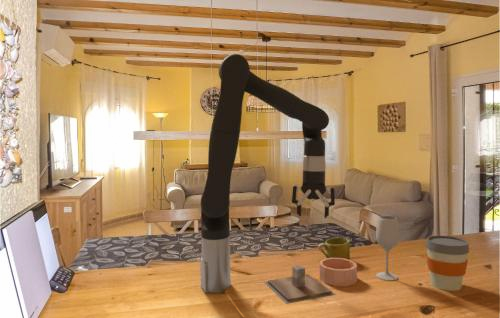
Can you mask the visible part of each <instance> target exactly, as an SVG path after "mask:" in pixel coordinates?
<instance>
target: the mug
mask: <svg viewBox="0 0 500 318" xmlns="http://www.w3.org/2000/svg"><path fill="white" fill-rule="evenodd" d="M350 246H351V244H350V240H349V238H345V237H341V236H340V237H331V238H327V239H326V240H325V243H324V242H321V243H319V244H318V247H317V248H318V250H319V251H320V252H321V253H322V254H323V256H324V257H325V259H326V258H344V259H348V260H351V254H350V253H351V252H350V251H351V247H350ZM323 248H324V249H325V250H324V249H323ZM325 251H326V252H325Z"/></svg>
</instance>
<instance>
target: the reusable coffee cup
mask: <svg viewBox="0 0 500 318" xmlns="http://www.w3.org/2000/svg"><path fill="white" fill-rule="evenodd" d="M425 247H426V251H427V254H426V263H427V269H428V270H429V276H430V284H431V286H433V287H435V288H436V289H439V290H442V291H448V292H450V291H451V292H454V291H455V292H456V291H460V290H461V289H462V285H463V281H464V280H463V279H464V276H465V275H466V272H467V265H468V261H469V260H468V258H467V257H468V254H469V253H470V248H469V241H468V240H466V239H463V238H462V237H461V238H460V237H456V236H450V235H441V234H440V235H429V236H428V237H427V238H426V243H425Z"/></svg>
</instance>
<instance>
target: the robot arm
mask: <svg viewBox="0 0 500 318" xmlns="http://www.w3.org/2000/svg"><path fill="white" fill-rule="evenodd" d="M218 77H219V80H220V90H219V91H220V92H219V97H218V102H217V106H216V109H215V112H214V115H213V119H212V124H211V129H210V135H209V141H208V154H207V155H208V156H207V157H208V159H207V166H208V167H207V168H208V169H207V174H206V175H207V177H206V181H205V184H204V185H205V186H204V190H203V193H202V194H201V198H200V211H201V212H200V215H201V220H200V221H201V226H200V227H201V228H200V231H201V233H200V234H201V236H200V237H201V257H200V259H199V260H200V262H199V263H200V287H201V289H202V291H203V292H204V294H205V293H211V294H212V293H214V294H218V293H224V292H226V290H228V289H230V287H231V235H230V233H231V226H230V203H231V202H230V200H231V199H230V197H231V196H230V193H231V179H232V173H233V168H234V165H235V161H236V158H237V153H238V148H239V142H240V133H241V124H242V116H243V115H242V114H243V103H244V102H243V101H244V95H245V93H247V94H249V95H251V96H254V97H255V98H256V99H259V100H260V101H263V103H265V104H267V105H269V106H270V107H272V108H274V109H275V110H276V111H278V112H280V113H282V114H283V115H285V116H287V117H289V118H291V119H294V120H298V121H299V122H301V129H302V135H303V142H304V143H303V144H304V145H303V159H302V182H301V183H302V184H301V185H297V184H294V185H293V186H292V194H291V203H292V204H295V205H296V207H297V208H296V214H297V215H298V217H302V210H303V209H302V205H303V204H302V203H303V202H304V201H305V200H306V199H308V200H318V201H319V200H320V201H321V202H322V203H323V204H324V218H323V219H327V218H328V217H329V214H330V207H332V206H335V204H336V201H335V187H334V186H329V187H327V186H326V169H327V168H326V165H327V164H326V141H325V139H324V138H323V135H322V131H323V130H325V129H327V127H328V125H329V124H330V117H329V115H328V113H327V112H326V111H325V110H323V108H320V107H319V106H316V105H314V104H312V103H311V102H310V103H309V102H307V101H305V100H303V99H302V98H300V97H299V96H297V95H295V94H294V93H292V92H290V91H289V90H287V89H285V88H282V87H280V86H278V85H275V84H274V83H271V82H269V81H267V80H265V79H262V78H261V77H259V76H258V75H256V74H255V73H254V72H252V71H251V69H250V64H249V62H248V60H247V59H246V57H245V56H243V55H241V54H239V53H234V54H230V55H228V56H226V57H225V58H224V59H223V60H222V61H221V63H220V64H219V68H218ZM300 191H301V192H302V194H303V195H302V196H301V197H300V198H299V199H297V195H298V194H297V193H299V192H300ZM326 192H328V194H329V195H330V201H328V200H327V198H326V197H325V195H324V194H325V193H326Z"/></svg>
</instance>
